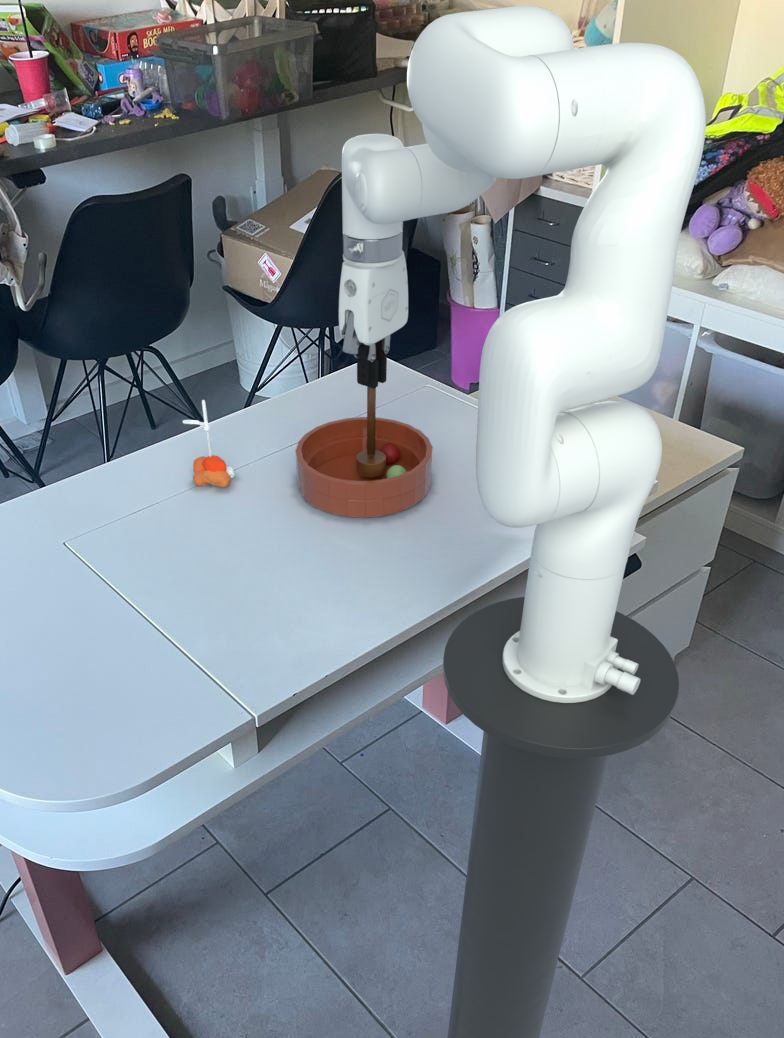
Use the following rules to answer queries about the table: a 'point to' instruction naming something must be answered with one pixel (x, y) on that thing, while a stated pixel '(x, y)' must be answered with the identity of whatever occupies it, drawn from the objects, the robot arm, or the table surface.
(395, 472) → the green bead
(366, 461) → the wooden masher
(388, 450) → the red bead
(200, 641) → the table surface
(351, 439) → the bowl
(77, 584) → the table surface
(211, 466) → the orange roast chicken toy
